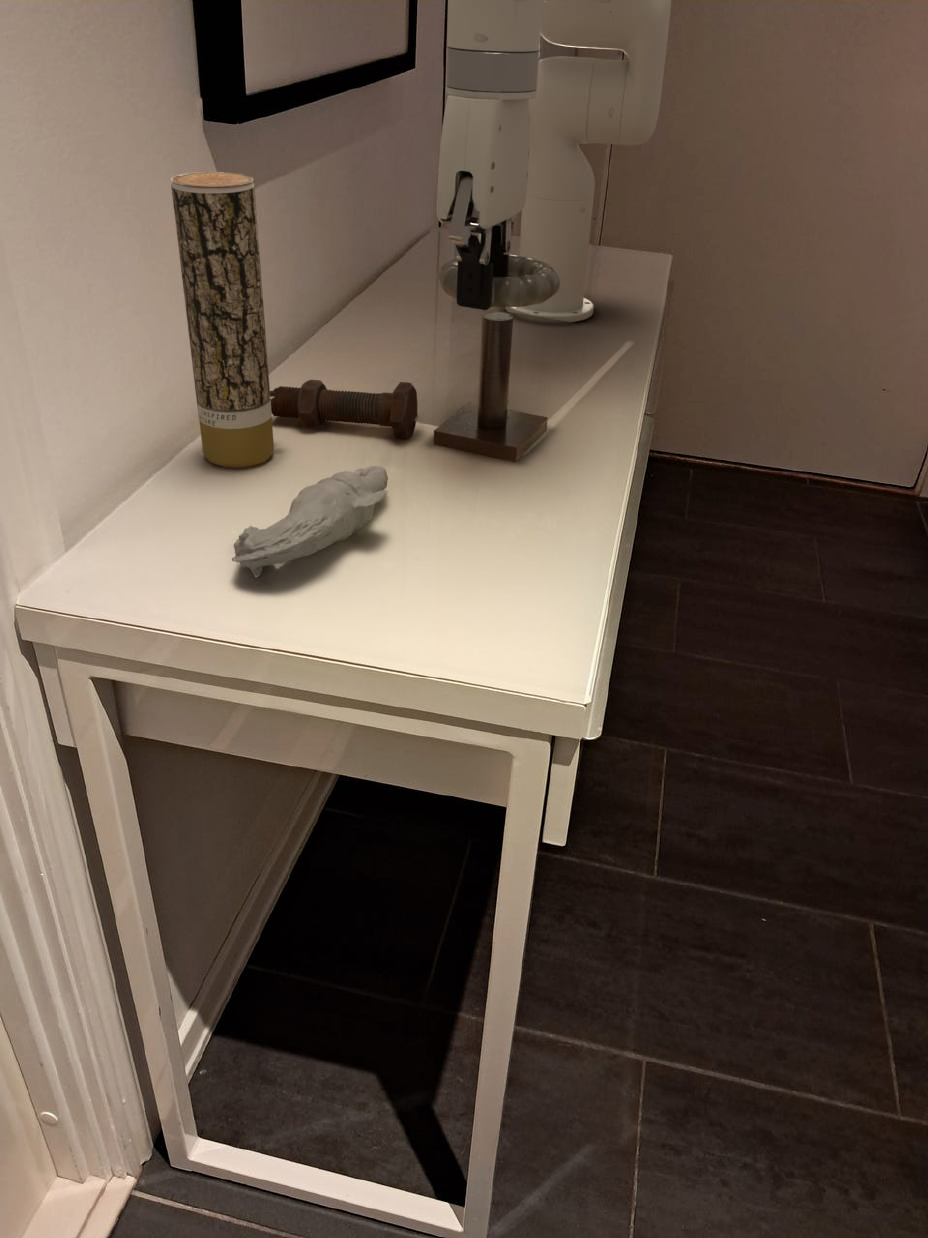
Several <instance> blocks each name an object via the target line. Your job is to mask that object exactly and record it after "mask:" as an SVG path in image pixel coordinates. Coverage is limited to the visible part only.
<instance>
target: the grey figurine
mask: <svg viewBox="0 0 928 1238" xmlns="http://www.w3.org/2000/svg"><path fill="white" fill-rule="evenodd" d="M388 480H389V475H388V473H387V469H386V468H384V466H380V465H370V466H368V467H365V468H357V469H356V470H355V471H347V470H345V471H339V472H337V473H334V474H333V475H332V476H330V477H329V476H328V477H326V478H323V479H321V480H319V481H317V482H316V483H315V484H312V485H308V486H305V487H303V488H302V489H301V490H300V491H299V492H298V494H297V496H296V497H295V498H293V500H292V501H291V503H290V507H289V511H288V514H287V515H286V516H284V517H282V518H281V519H280V520H278V521H277V522H275V523H274V524H272V525H270V526H268V527H266V528H261V529H260V528H258V527H255V526H252V525H249V526H248V527H247V528H244V529H243V532H242V533H240V534H239V535H238V538H237V539H236V541H235V542H234V543H233V548H234V555H235V556H233V557H231V561H232V562H235V563H240V565H241V567H244V568H249V569H250V571H251V572H252V573H253V576H254V578H257V577H258V576H260V575H261V573H262V571H263V567H265V566H272V565H273V566H274V565H278V564H283V563H286V562H289V561H293V560H294V559H295V560H296V559H299V558H300V559H301V558H304V557H308V556H311V555H313V554H315V553H317V552H319V551H321V550H323V549H325V548H327V547H328V546H330V545H333V544H337V543H340V542H342V541H344V540H347V539H348V538H349V537H350V536H351V535H353V534H355V533H356V532H357V531H359V530H360V529H361V528H362V527H363V526H364V525H366V524H368V523H369V521H370V520H372V518H373V515H374V508H375V505H376V504H377V503H379V502H382V501H384V499H385V497H386V496H387V495H388V492H389V490H387V487H388V482H389V481H388Z"/></svg>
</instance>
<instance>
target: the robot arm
mask: <svg viewBox="0 0 928 1238" xmlns="http://www.w3.org/2000/svg"><path fill="white" fill-rule="evenodd" d="M671 10H672V0H447V27H446V28H447V29H446V31H447V33H446V64H445V65H446V66H445V72H446V73H445V94H446V95H447V96H446V102H445V106H444V107H445V108H444V113H443V121H442V127H441V136H440V144H439V145H440V147H439V160H438V171H437V172H438V173H437V174H438V175H437V189H436V191H437V192H436V217H437V220H438V221H439V222H440V223H441V224H444V225H448V224H450V226H449V230H448V239H449V240H450V242H451V243H453V244H454V245H455V248H456V251H455V258H456V260H457V261H458V271H457V299H456V304H457V305H458V306H459V307H463V308H470V309H475V310H482V311H487V310H490V309H491V308H492V307H491V301H492V281H493V277H508V265H509V255H510V254H509V253H510V252H511V247H512V230H513V227H514V226H513V225H514V221H515V220H516V217H517V215H518V214H519V213H520V212H521V216H520V217H521V218H520V231H519V235H520V236H519V250H518V256H522V257H529V258H532V259H535V260H538V261H541V262H544V263H547V264H549V265H550V266H551V267H552V268H553V269H554V271H555V272H556V274H557V275H558V277H559V280H560V286H559V289H558V291H557V292H556V294H555V295H553V296H552V297H550V298H549V299H548V300H546V301H545V302H543V303H540V304H535V305H529V306H523V307H504V309H505V311H506V313H511V314H517V315H518V314H519V315H525V316H530V317H537V318H544V319H549V320H556V321H562V322H568V323H576V322H581V321H584V320H587V319H589V318H591V317H592V316H593V314H594V309H595V306H594V304H593V302H592V301H590V300H589V299H587V298H585V297H584V296H585V288H586V278H587V270H588V269H587V268H588V259H589V258H588V257H589V249H590V239H591V229H592V218H593V208H594V198H595V189H596V182H595V175H594V171H593V168H592V166H591V164H590V162H589V161H588V159H587V157H586V156H585V154H584V153H583V151H582V149H581V148H580V146H579V144H602V145H616V146H617V145H618V146H638V145H642V144H645V143H646V142H648V141H649V140H650V139H651V138H652V137H653V134H654V133H655V130H656V127H657V124H658V120H659V115H660V109H661V99H662V92H663V82H664V74H665V66H666V57H667V49H668V41H669V40H668V39H669V32H670V31H669V30H670V21H671ZM541 37H542V38H543V39H544V40H545V41H547V42H548V43H550V44H553V45H556V46H563V47H570V48H583V49H599V50H602V49H603V50H617V51H618V50H619V51H622V52H623V53H624V54H625V55H626V57H627V59H628V60H627V59H626V60H625V59H612V58H611V59H609V58H597V57H586V56H585V57H584V56H566V55H565V56H564V55H563V56H559V55H558V56H557V55H556V56H549V57H545V58H542V59H540V49H541ZM472 218H476V220H477V221H476V222H477V223H472V222H471V221H472ZM475 234H478V236H477V235H475Z"/></svg>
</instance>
